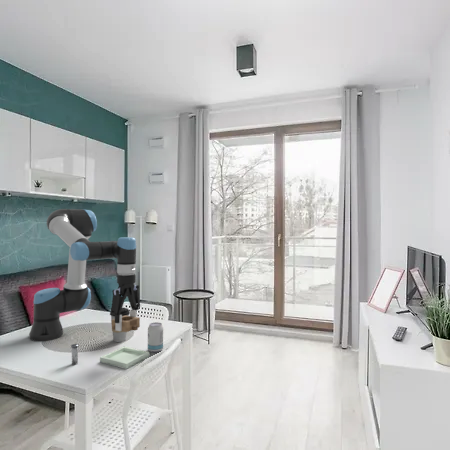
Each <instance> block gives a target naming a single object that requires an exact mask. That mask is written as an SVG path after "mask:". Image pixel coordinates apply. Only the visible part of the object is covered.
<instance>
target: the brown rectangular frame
mask: <svg viewBox="0 0 450 450" xmlns="http://www.w3.org/2000/svg"><path fill="white" fill-rule="evenodd" d="M140 319H141V318H140V317H137V316H136V317H132V316H130V315H129V316H126V315H125V316H122V331H123V332H127V333H129V332H130V331H134V332H135V331H137V330H138V329H139V328H140V326H141V325H140V323H141V321H140ZM112 330H115V319H113V320H112V324H111V331H112Z"/></svg>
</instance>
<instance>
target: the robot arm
mask: <svg viewBox="0 0 450 450" xmlns="http://www.w3.org/2000/svg"><path fill="white" fill-rule="evenodd" d="M46 227H47V229H48V231H50V233H52V234H53V235H57V237H59V238H60V239H61V240H62V241H63V242H64V243H65V244H66V245H67V247H69V249H68V250H69V251H68V264H67V277H66V283H64V284H63V289H61V288H59V287H48V288H44V289H41V290H38V291H36V293H35V294H34V295H33V322H32V326H31V329H30V331H29V334H28V335H29V336H28V339H29V340H30V341H34V342H35V341H36V342H45V341H50V340H51V341H52V340H55V339H58V338H61V337H62V336H63V335H64V329H63V326H62V322H61V319H60V314H65V313H69V312H77V311H81V310H85V309H87V307H89V306H90V303H91V299H92V294H91V289H90V288H89V287H88V284H87V283H86V282H85V281H86V269H87V261H92V260H93V261H94V260H106V259H117V261H116V268H117V270H116V273H117V276H116V283H117V284H118V287H117V289H113V290H112V300H111V307H110V308H111V309H110V312H111V314H113V315H115V330H116V331H122V315H120V314H121V310H122V308H124V307H123V306H124V303H125V300H126V299H128V302H129V305H130V310H129V311H130V314H129V316H132V317H137V315H138V314H137V312H138V311H139V309H140V308H141V301H140V299H141V298H140V291H139V290H140V285H137V284H135V283H136V282H137V281H136V280H137V279H136V278H137V277H136V276H137V274H136V267H137V265H136V262H137V260H136V258H137V242H136V241H137V239H136V238H135V237H130V236H129V237H127V236H125V237H124V236H123V237H122V236H121V237H119V238H117V240H108V241H107V240H106V241H104V240H103V241H90V238H91V237H92V233H94V232H96V230H97V228H98V220H97V217H96V214H95V212H93V211H92V210H91V209H83V208H82V209H81V208H80V209H79V208H78V209H77V208H75V209H74V208H59V209H56V210H54V211H52V212H51V213H50V214H49V215H48V217H47V218H46Z"/></svg>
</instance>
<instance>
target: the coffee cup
mask: <svg viewBox="0 0 450 450" xmlns="http://www.w3.org/2000/svg"><path fill="white" fill-rule="evenodd" d="M120 315H122V316H125V315H126V316H130V310H129V308H127V307H122V310H121V314H120ZM109 316H110V317H111V318H110V319H111V320H110V322H111V323H110V324H111V325H112V320H113V319H115V315H113V314H111V311H110V312H109ZM111 331H112V339H113V342H116V343H122V342H124V341H126V339H127V334H128V332H123V331H116V330H112V329H111Z"/></svg>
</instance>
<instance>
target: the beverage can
mask: <svg viewBox="0 0 450 450" xmlns="http://www.w3.org/2000/svg"><path fill="white" fill-rule="evenodd" d="M163 349H164V326H163V323H161V322H159V321H158V322H151V323H149V325H148V327H147V350H148V352H149V353H153V354H154V353H160V352H161V351H162V350H163Z"/></svg>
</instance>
